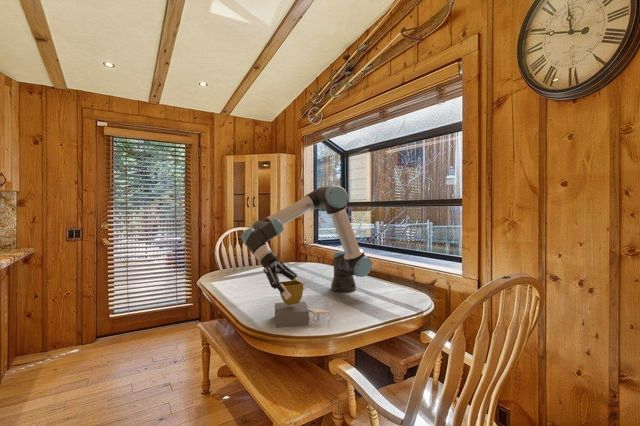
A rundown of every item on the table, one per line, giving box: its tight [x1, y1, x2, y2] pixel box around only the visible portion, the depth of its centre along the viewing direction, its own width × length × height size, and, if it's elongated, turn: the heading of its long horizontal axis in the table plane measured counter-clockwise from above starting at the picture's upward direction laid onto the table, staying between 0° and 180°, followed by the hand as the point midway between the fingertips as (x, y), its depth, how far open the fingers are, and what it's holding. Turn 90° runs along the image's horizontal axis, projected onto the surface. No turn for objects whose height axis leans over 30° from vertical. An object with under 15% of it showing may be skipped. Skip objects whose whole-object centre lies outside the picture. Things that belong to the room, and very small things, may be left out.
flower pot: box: [279, 280, 304, 305], centre depth 137 cm, size 9×9×9 cm
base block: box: [274, 300, 310, 328], centre depth 137 cm, size 14×14×6 cm
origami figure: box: [308, 308, 334, 326], centre depth 135 cm, size 12×8×5 cm
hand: (296, 293), depth 136 cm, fingers closed on flower pot, 12 cm apart
